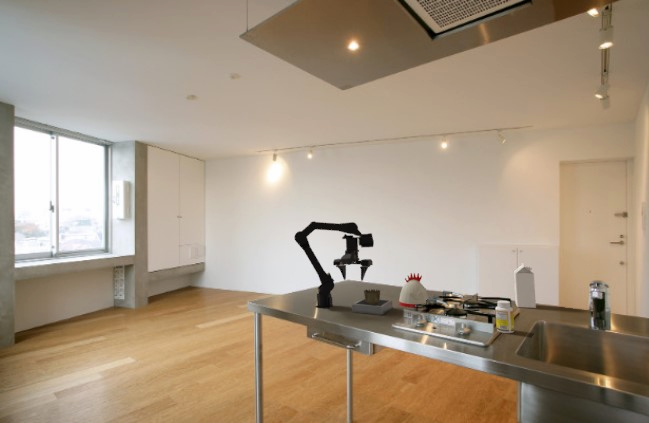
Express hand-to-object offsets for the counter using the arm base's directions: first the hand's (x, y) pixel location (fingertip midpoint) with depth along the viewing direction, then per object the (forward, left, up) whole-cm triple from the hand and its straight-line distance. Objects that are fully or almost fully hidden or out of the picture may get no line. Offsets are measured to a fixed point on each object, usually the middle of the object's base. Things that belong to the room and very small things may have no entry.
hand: (353, 280), depth 170 cm
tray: (+12, -6, -12) cm, 18 cm away
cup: (+12, -6, -11) cm, 18 cm away
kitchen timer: (+26, +12, -12) cm, 31 cm away
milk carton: (+72, +25, -12) cm, 78 cm away
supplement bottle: (+66, -18, -12) cm, 69 cm away
